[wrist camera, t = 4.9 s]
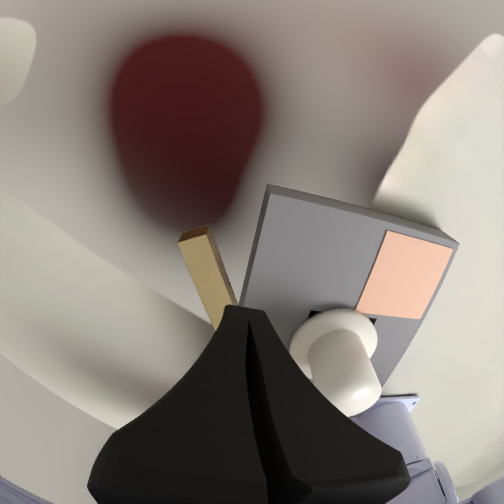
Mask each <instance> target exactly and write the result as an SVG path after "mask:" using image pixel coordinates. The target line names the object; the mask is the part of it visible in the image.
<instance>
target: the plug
mask: <svg viewBox="0 0 504 504" xmlns="http://www.w3.org/2000/svg"><path fill="white" fill-rule="evenodd" d="M376 346H377V332H376V330H375V328H374V326H373V324H372V322H371V320H370V319H369V318H368V317H367V316H366V315H365V314H363V313H362V312H360V311H357V310H354V309H349V308H337V309H331V310H327V311H324V312H321V311H317V312H316V313H314V314H313V315H312V316H310V318H309V319H308V320H306V321H305V322H304V323H303V324H301V325H300V326H299V327H298V329H297V330H296V331H295V333H294V334H293V336H292V338H291V341H290V345H289V353H290V355H291V356H292V358H293V359H294V361H295V362H296V363H297V365H298V366H299V367H300V369H301V370H302V371H303V373H304V374H305V375H306V376H307V378H309V379H313V384H314V386H315V387H316V388H317V389H318V390H319V391H320V392H321V393H322V394H323V395H324V396H325V397H326V398H327V399H328V400H329V401H330V402H331V403H332V404H333V405H334V406H335V407H337V408H338V409H339V410H340V411H341V412H342V413H343V414H344V415H346V416H347V417H350V416H353V415H356V414H359V413H361V412H363V411H365V410H366V409H368V408H369V407H371V406H372V405H373V404H374V403H375V402H376V401H377V400H378V399H379V397H380V395H381V392H382V388H381V385H380V383H379V380H378V378H377V375H376V373H375V371H374V368H373V366H372V364H371V361H370V358H371V356H372V355H373V353H374V351H375V349H376Z"/></svg>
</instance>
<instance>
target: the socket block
mask: <svg viewBox="0 0 504 504" xmlns="http://www.w3.org/2000/svg"><path fill="white" fill-rule="evenodd" d="M459 244H460V243H458V242H457V241H456V240H454V239H453V238H451V237H450V236H449V235H447V234H446V233H445V232H443V231H442V230H438V229H435V228H432V227H429V226H426V225H423V224H419V223H416V222H413V221H410V220H406V219H403V218H400V217H396V216H393V215H389V214H386V213H382V212H379V211H375V210H372V209H368V208H364V207H361V206H357V205H353V204H349V203H345V202H342V201H338V200H334V199H330V198H326V197H322V196H318V195H313V194H309V193H305V192H301V191H297V190H292V189H288V188H283V187H279V186H274V185H269V184H267V186H266V191H265V195H264V199H263V203H262V208H261V212H260V216H259V221H258V225H257V229H256V233H255V237H254V241H253V246H252V250H251V255H250V258H249V263H248V267H247V271H246V275H245V280H244V284H243V288H242V292H241V297H240V301H239V305H238V306H241V307H247V308H253V309H259V310H264V311H265V313H266V314H267V316H268V318H269V320H270V321H271V323H272V325H273V327H274V329H275V330H276V332H277V334H278V336H279V337H280V339H281V341H282V342H283V344H284V345H285V347H286V349H287V350H288V352H289V345H290V341H291V338H292V336H293V334H294V333H295V331H296V330H297V329H298V327H299V326H300V325H301V324H303V323H304V322H305V321H306V320H307V318H308V316H309V313H310V310H313V311H321V312H324V311H327V310H331V309H337V308H349V309H354V310H357V311H360V312H362V313H363V314H365V315H366V316H367V317H368V318H369V319H370V320H371V322H372V324H373V326H374V328H375V330H376V332H377V346H376V349H375V351H374V353H373V355H372V356H371V358H370V361H371V364H372V366H373V368H374V371H375V373H376V375H377V378H378V380H379V383H380V385H381V388H382V387H383V385H384V384H385V382H386V381H387V379H388V378H389V376H390V375H391V373H392V372H393V370H394V369H395V367H396V366H397V364H398V362H399V361H400V359H401V358H402V356H403V354H404V353H405V351H406V350H407V348H408V346H409V345H410V343H411V341H412V339H413V338H414V336H415V334H416V333H417V331H418V329H419V327H420V325H421V324H422V322H423V320H424V318H425V316H426V314H427V313H428V311H429V309H430V307H431V305H432V303H433V301H434V299H435V297H436V295H437V293H438V291H439V289H440V287H441V285H442V283H443V280H444V278H445V276H446V274H447V272H448V270H449V267H450V265H451V263H452V260H453V258H454V256H455V253H456V251H457V249H458V246H459ZM308 379H309V378H308ZM309 380H310V381H311V382H312V383H313V379H309ZM364 412H365V411H363V412H361V413H359V414H356V415H353V416H350V417H348V418H358V417H361V415H362V414H363V413H364Z"/></svg>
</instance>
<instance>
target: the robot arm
mask: <svg viewBox="0 0 504 504" xmlns="http://www.w3.org/2000/svg"><path fill="white" fill-rule="evenodd" d="M419 400H420V397H419V396H404V397H383V398H379V399H378V400H377V401H376V402H375V403H374V404H373V405H372V406H371V407H369V408H368V409H366V410H365V412H364V413H363V414H362V415H361V417H358V418H350V419H349V418H348V417H347V416H346V415H344V414H343V413H342V412H341V411H340V410H339V409H338V408H337V407H335V406H334V405H333V404H332V403H331V402H330V401H329V400H328V399H327V398H326V397H325V396H324V395H323V394H322V393H321V392H320V391H319V390H318V389H317V388H316V387H315V386H314V384H313V383H312V382H311V381H310V380H309V379H308V378H307V376H306V375H305V374H304V373H303V371H302V370H301V369H300V367H299V366H298V365H297V363H296V362H295V361H294V359H293V358H292V356H291V355H290V353H289V352H288V350H287V349H286V347H285V345H284V344H283V342H282V341H281V339H280V337H279V336H278V334H277V332H276V330H275V329H274V327H273V325H272V323H271V321H270V320H269V318H268V316H267V314H266V313H265V311H264V310H259V309H253V308H247V307H241V306H236V305H230V304H228V305H226V306H225V307H224V311H223V316H222V319H221V321H220V324H219V326H218V328H217V330H216V331H215V333H214V335H213V337H212V339H211V340H210V342H209V344H208V345H207V346H206V348H205V349H204V351H203V352H202V354H201V355H200V357H199V358H198V359H197V361H196V362H195V363H194V364H193V366H192V367H191V368H190V369H189V370H188V372H187V373H186V374H185V375H184V376H183V377H182V378H181V379H180V380H179V381H178V382H177V383H176V384H175V386H174V387H173V388H172V389H171V390H170V391H168V392H167V393H166V394H165V395H164V396H163V397H162V398H161V399H159V400H158V401H157V402H156V403H155V404H153V405H152V406H151V407H150V408H149V409H147V410H146V411H145V412H144V413H142V414H141V415H140V416H138V417H137V418H135V419H134V420H132V421H131V422H129V423H128V424H126V425H125V426H123V427H122V428H120V429H119V430H117V431H115V432H114V433H113V434H112V435H111V436H110V438H109V439H108V440H107V442H106V443H105V445H104V446H103V448H102V450H101V451H100V453H99V454H98V456H97V459H96V460H95V463H94V465H93V467H92V471H91V474H90V477H89V481H88V484H87V488H88V490H89V492H90V493H91V495H92V496H93V498H94V499H95V500H96V502H97V503H98V504H447V503H448V504H504V477H501V478H500V479H498V480H496V481H494V482H492V483H490V484H489V485H487V486H485V487H484V488H483V489H481V490H479V491H478V492H477V493H475V494H474V495H473V496H472V497H471V498H468V499H466V500H464V501H462V502H460V503H458V502H459V500H458V497H457V493H456V490H455V488H454V485H453V482H452V480H451V477H450V475H449V472H448V470H447V468H446V466H445V464H444V463H443V462H439V461H436V462H434V463H433V464H434V466H435V469H436V473H435V471H434V468H433V466H432V463H431V461H430V459H429V458H428V455H427V453H426V450H425V448H424V446H423V443H422V441H421V438H420V436H419V434H418V431H417V429H416V427H415V424H414V422H413V420H412V418H411V415H410V413H409V412H410V411H411V410H412V409H413V407H414V406H415V405H416V404H417V402H418V401H419ZM436 474H437V476H438V478H437V476H436ZM444 496H445V497H446V500H447V503H446V500H445V497H444ZM0 504H53V503H51V502H49V501H47V500H45V499H42V498H40V497H38V496H36V495H34V494H32V493H30V492H28V491H26V490H24V489H23V488H21V487H19V486H17V485H15V484H13V483H12V482H10V481H8V480H6V479H5V478H3V477H1V476H0Z"/></svg>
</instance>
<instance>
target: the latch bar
mask: <svg viewBox="0 0 504 504" xmlns="http://www.w3.org/2000/svg"><path fill="white" fill-rule="evenodd" d="M178 245H179V248H180V250H181V252H182V255H183V257H184V260H185V262H186V265H187V267H188V270H189V272H190V274H191V277H192V279H193V281H194V284H195V286H196V289H197V291H198V293H199V296H200V298H201V300H202V302H203V305H204V307H205V309H206V311H207V314H208V316H209V318H210V321H211V323H212V325H213V327H214V329H215V331H216V330H217V328H218V326H219V324H220V321H221V319H222V316H223V311H224V307H225V306H226V305H228V304H230V305H236V306H238V303H237V300H236V298H235V295H234V292H233V289H232V287H231V284H230V281H229V279H228V276H227V273H226V270H225V268H224V265H223V262H222V259H221V257H220V254H219V251H218V248H217V245H216V243H215V240H214V237H213V234H212V231H211V229H210V226H209V225H206V226H203V227H199V228H196V229H193V230H189V231H186V232H183V233H182V235H181V237H180V239H179V241H178Z"/></svg>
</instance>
